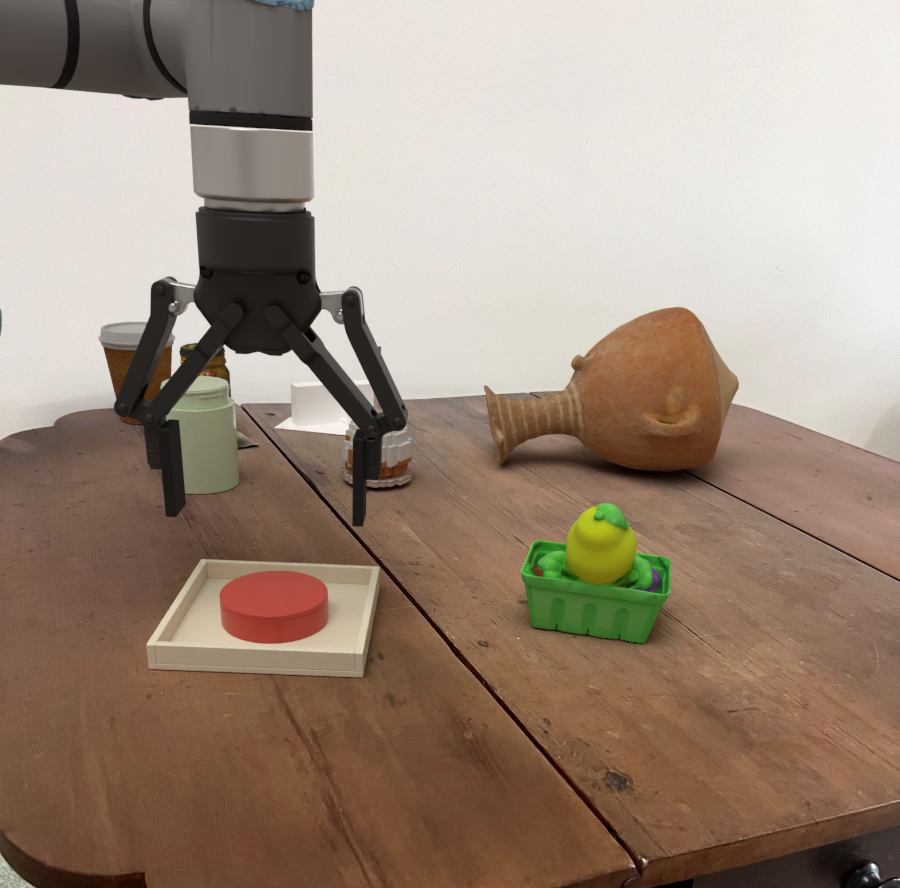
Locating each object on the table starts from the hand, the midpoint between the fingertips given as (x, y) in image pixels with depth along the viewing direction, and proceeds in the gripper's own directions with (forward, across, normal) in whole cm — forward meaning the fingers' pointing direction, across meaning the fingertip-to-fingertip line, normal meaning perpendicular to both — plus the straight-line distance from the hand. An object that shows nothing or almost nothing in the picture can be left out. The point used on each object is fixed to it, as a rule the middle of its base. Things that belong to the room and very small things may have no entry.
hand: (267, 515), depth 68 cm
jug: (+9, -32, -46) cm, 57 cm away
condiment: (+10, +16, -48) cm, 51 cm away
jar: (+9, +14, -33) cm, 37 cm away
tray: (+9, 0, 0) cm, 9 cm away
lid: (+7, 0, 0) cm, 7 cm away
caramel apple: (+10, -5, -36) cm, 37 cm away
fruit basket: (+9, -25, -2) cm, 27 cm away
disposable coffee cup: (+10, +28, -58) cm, 65 cm away
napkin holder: (+10, +2, -60) cm, 61 cm away
